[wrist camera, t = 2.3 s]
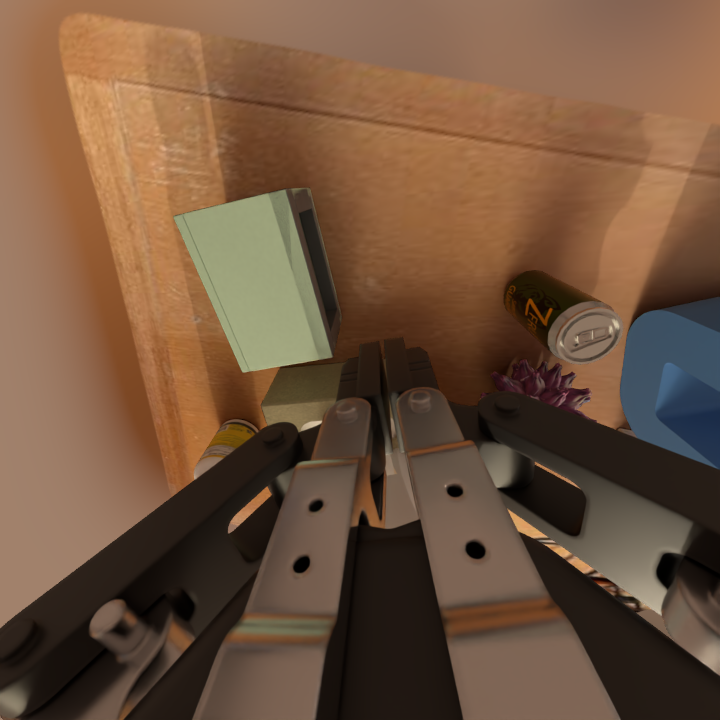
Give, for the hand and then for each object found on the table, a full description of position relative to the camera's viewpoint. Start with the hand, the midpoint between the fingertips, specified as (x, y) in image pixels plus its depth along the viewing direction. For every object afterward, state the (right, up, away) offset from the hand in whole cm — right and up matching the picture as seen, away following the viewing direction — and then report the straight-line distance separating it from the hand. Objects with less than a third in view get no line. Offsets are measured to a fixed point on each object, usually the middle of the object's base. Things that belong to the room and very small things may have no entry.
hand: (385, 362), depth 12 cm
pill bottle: (-19, -11, +35) cm, 41 cm away
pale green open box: (-9, +10, +23) cm, 27 cm away
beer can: (+18, +8, +24) cm, 31 cm away
